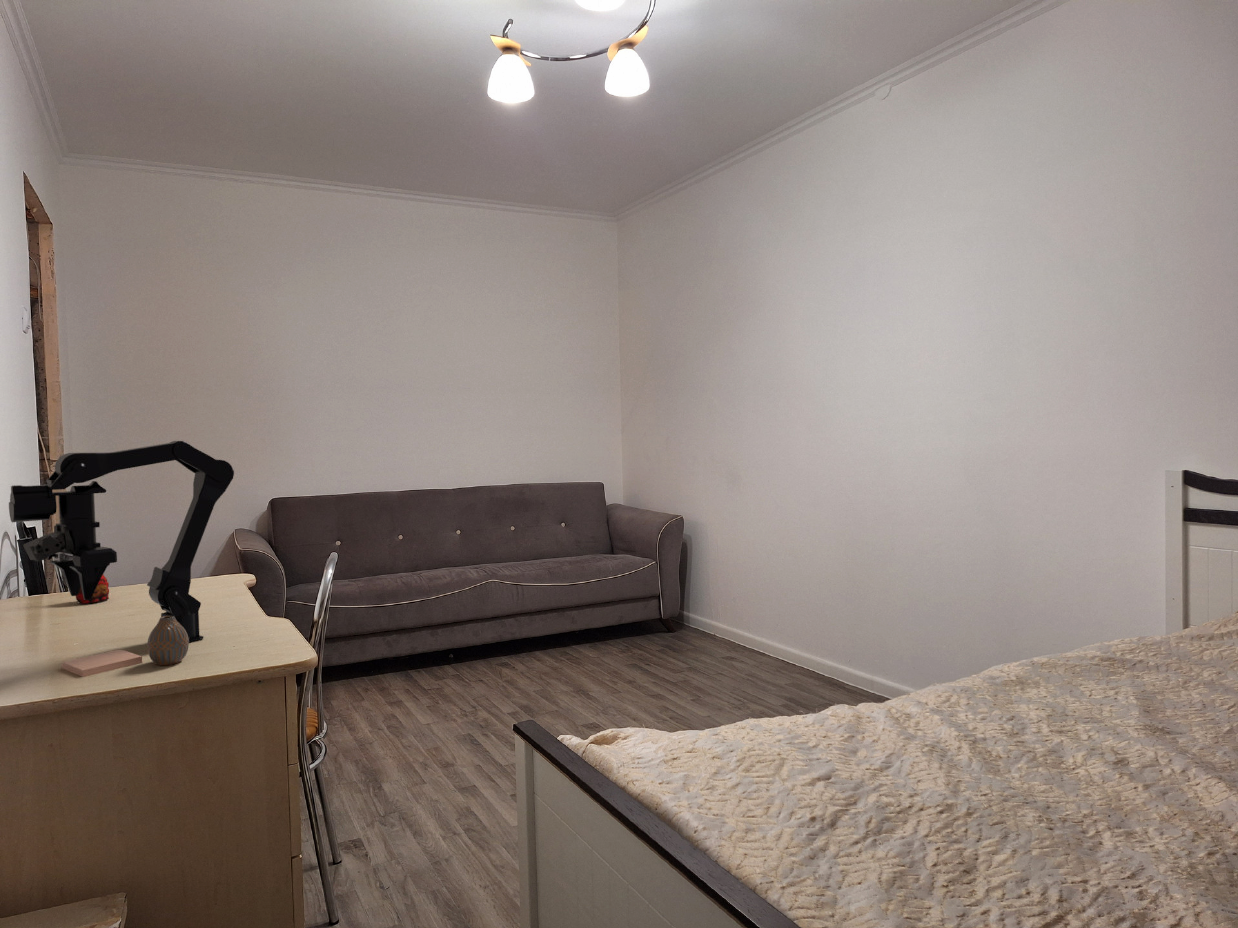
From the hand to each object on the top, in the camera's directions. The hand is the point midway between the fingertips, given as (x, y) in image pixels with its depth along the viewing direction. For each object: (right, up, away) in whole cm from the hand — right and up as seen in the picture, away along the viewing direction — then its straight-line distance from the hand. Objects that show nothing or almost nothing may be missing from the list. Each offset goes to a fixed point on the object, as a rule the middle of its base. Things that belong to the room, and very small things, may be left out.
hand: (81, 597), depth 154 cm
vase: (+19, -12, -3) cm, 22 cm away
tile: (+3, -12, -2) cm, 12 cm away
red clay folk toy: (-32, -10, +52) cm, 62 cm away
